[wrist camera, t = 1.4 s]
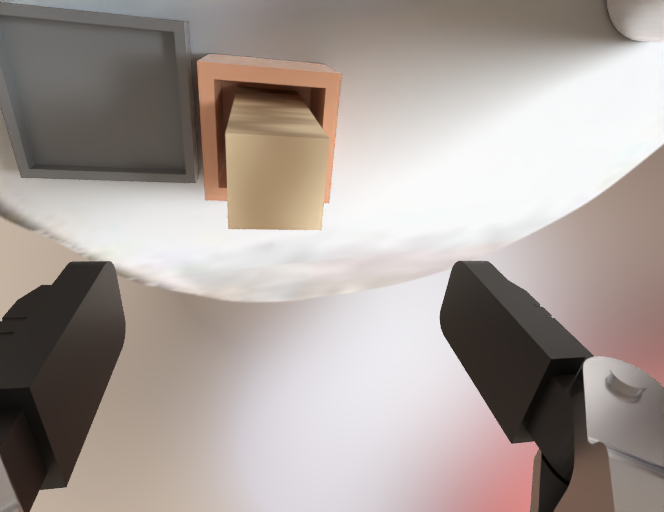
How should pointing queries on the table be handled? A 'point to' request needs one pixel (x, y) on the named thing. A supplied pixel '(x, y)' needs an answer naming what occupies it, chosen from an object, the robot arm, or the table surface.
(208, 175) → the orange open box
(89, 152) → the grey square tray
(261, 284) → the table surface
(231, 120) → the birch peg
